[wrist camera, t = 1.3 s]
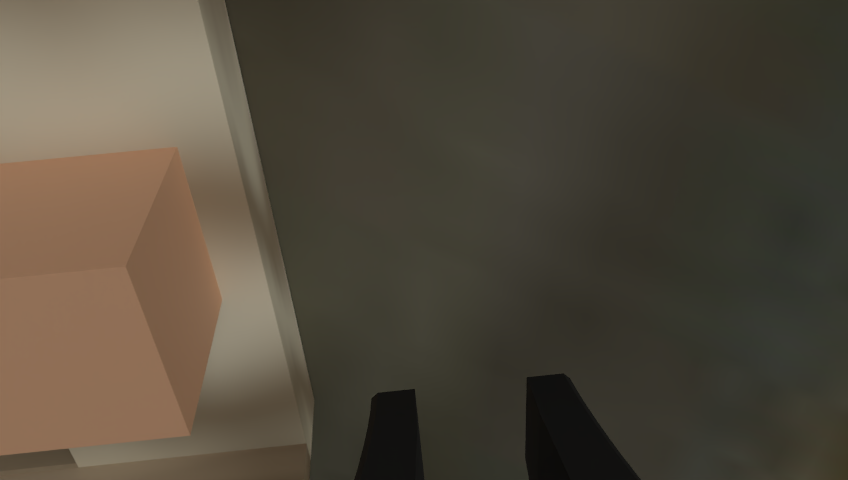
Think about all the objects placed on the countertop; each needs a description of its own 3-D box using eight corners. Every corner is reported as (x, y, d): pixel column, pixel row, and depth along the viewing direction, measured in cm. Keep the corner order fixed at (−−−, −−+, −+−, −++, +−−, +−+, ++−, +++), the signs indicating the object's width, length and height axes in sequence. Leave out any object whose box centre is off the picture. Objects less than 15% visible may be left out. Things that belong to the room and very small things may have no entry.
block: (222, 299, 19) (190, 435, 15) (49, 316, 19) (-25, 458, 15) (177, 147, 16) (126, 266, 13) (-24, 166, 16) (-134, 292, 13)
